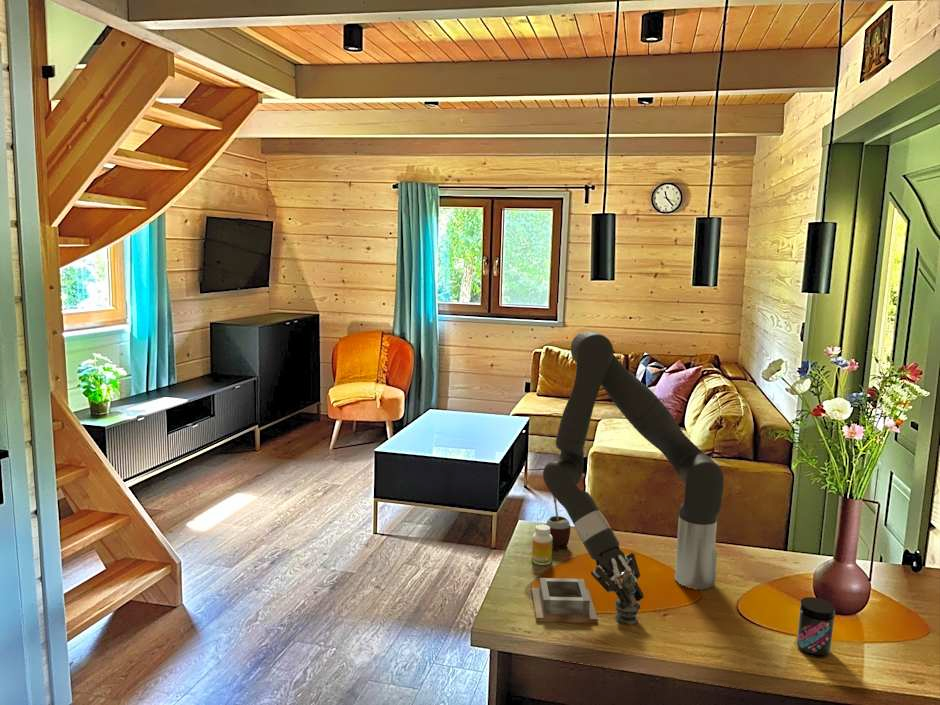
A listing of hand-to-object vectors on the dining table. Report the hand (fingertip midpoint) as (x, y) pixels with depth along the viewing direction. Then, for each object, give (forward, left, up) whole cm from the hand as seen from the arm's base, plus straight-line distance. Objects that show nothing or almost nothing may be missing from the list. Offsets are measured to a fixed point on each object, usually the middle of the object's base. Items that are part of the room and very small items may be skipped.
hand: (634, 602), depth 165 cm
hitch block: (+15, -7, -5) cm, 17 cm away
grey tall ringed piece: (+1, -2, -5) cm, 6 cm away
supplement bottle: (+18, -31, -5) cm, 36 cm away
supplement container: (-37, +9, -5) cm, 38 cm away
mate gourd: (+13, -41, -5) cm, 43 cm away
